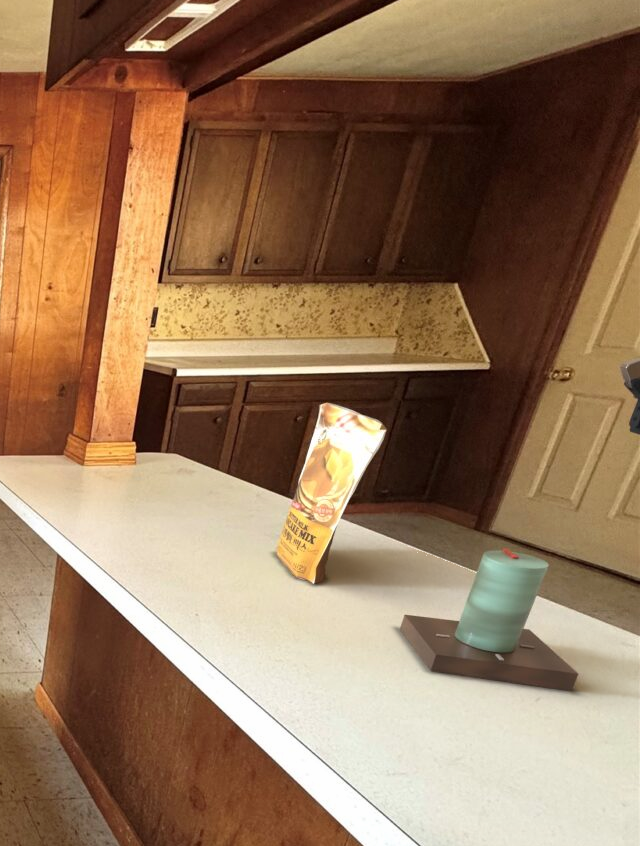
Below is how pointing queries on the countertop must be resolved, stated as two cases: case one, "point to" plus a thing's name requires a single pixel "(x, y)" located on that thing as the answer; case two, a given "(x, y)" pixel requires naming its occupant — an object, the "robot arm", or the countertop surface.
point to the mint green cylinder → (500, 600)
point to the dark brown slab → (487, 656)
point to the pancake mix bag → (326, 487)
